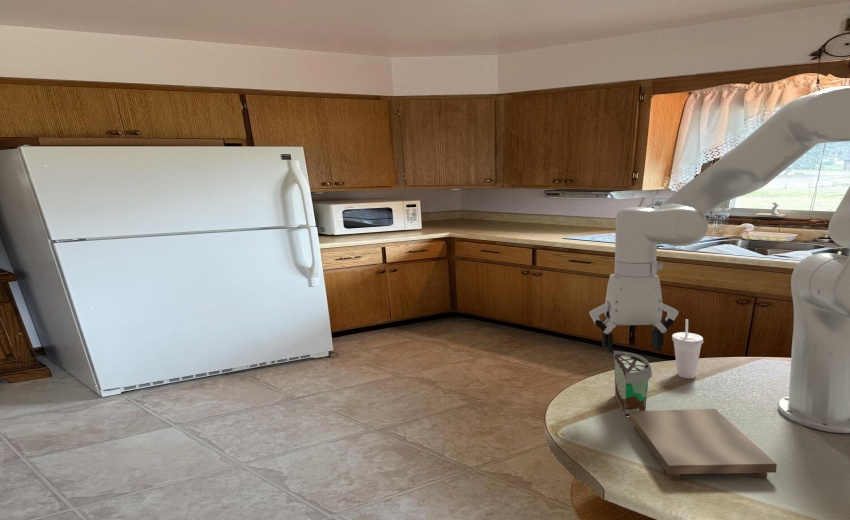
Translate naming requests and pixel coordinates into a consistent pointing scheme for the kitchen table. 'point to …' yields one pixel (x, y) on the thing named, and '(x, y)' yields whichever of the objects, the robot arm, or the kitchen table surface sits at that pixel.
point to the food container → (631, 381)
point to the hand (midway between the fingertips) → (631, 349)
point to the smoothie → (687, 352)
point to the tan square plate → (699, 443)
